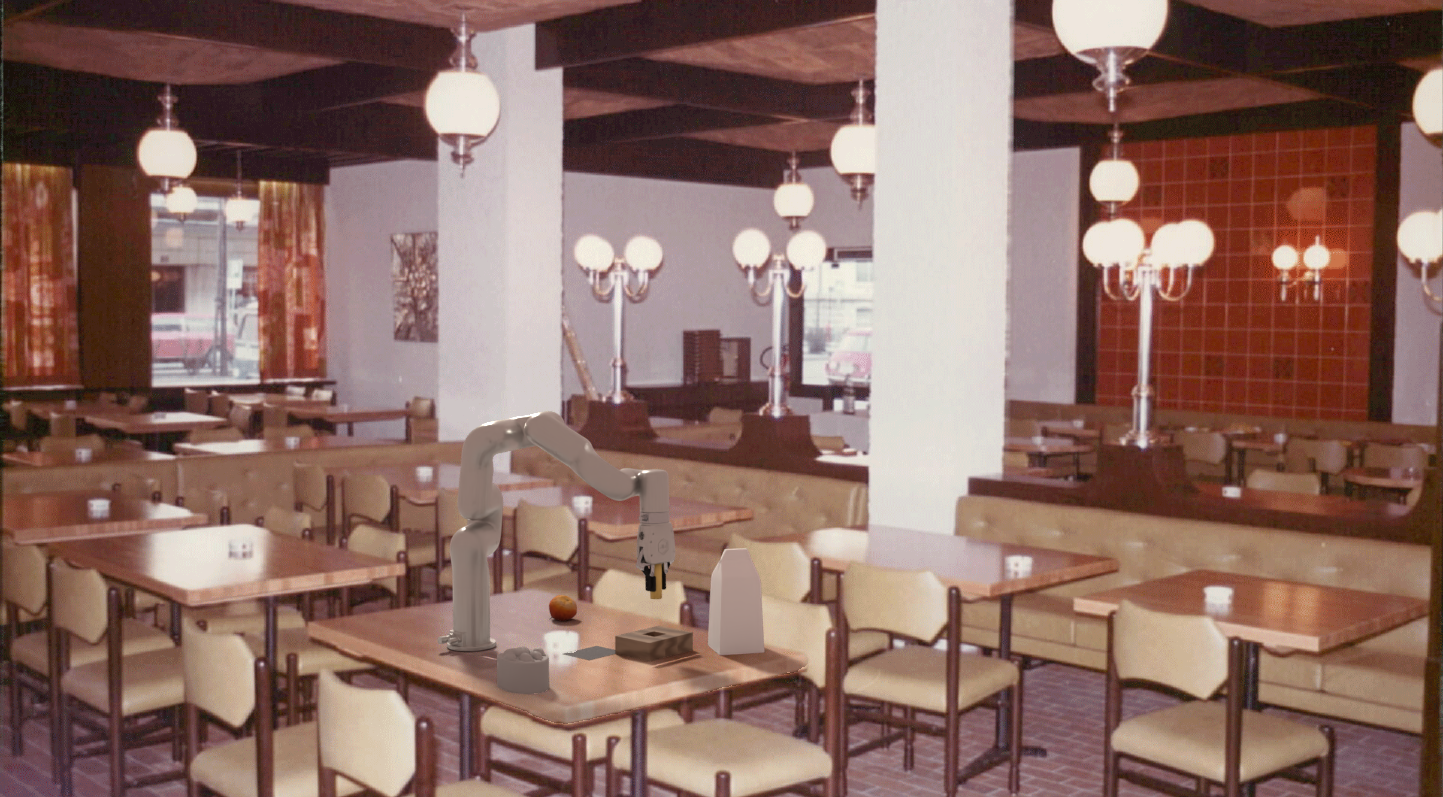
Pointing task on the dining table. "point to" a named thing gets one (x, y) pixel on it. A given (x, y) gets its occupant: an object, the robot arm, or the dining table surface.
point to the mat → (592, 653)
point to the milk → (735, 605)
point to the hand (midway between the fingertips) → (655, 589)
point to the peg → (657, 582)
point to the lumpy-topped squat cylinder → (523, 670)
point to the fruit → (562, 608)
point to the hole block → (653, 643)
